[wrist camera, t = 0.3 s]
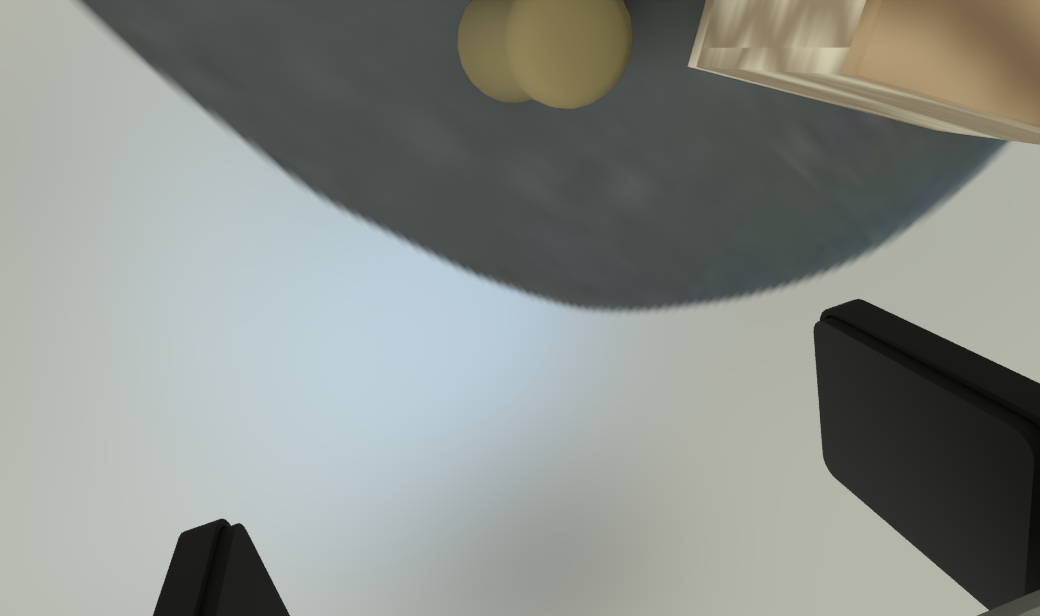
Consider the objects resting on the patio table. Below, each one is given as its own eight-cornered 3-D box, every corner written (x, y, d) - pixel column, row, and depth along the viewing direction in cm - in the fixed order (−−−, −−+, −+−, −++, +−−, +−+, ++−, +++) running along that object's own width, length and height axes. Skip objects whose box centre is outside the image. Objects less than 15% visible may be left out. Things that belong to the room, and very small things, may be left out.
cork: (591, 50, 37) (684, 50, 27) (508, 127, 37) (569, 155, 27) (521, -48, 35) (594, -88, 25) (432, 35, 35) (469, 29, 25)
